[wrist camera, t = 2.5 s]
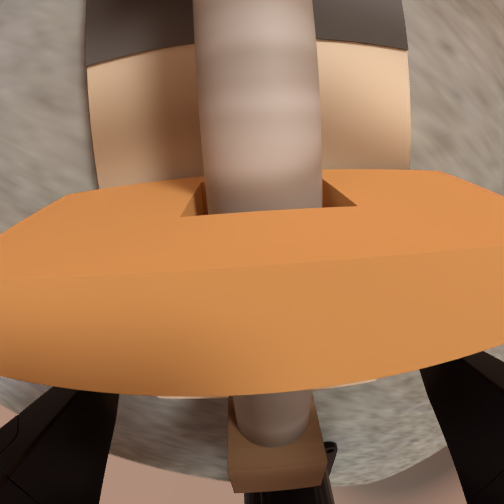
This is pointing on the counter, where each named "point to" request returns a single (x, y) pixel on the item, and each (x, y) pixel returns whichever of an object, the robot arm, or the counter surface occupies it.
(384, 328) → the collar
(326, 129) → the rod board
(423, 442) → the counter surface
